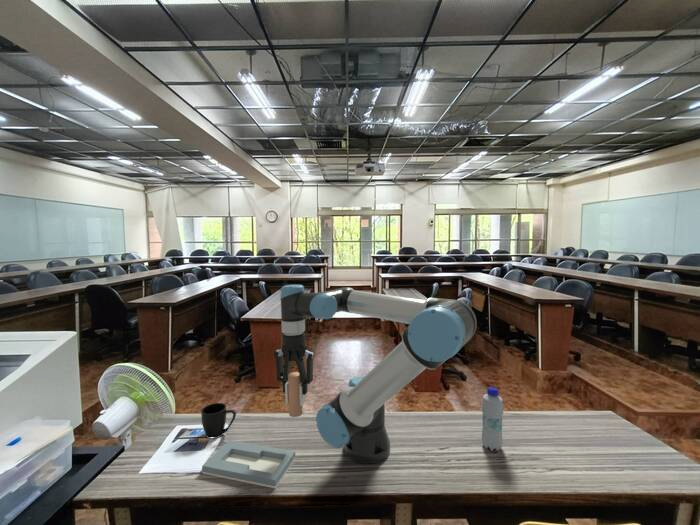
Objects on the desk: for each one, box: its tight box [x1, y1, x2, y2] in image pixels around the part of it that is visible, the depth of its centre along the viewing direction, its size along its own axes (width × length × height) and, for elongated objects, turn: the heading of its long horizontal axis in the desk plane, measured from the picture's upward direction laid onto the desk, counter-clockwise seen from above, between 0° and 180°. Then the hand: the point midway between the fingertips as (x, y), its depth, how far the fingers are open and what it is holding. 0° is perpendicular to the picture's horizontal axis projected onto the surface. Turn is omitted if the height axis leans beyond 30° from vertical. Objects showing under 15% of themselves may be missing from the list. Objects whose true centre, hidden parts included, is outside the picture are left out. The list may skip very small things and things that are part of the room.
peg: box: [288, 371, 303, 418], centre depth 105 cm, size 4×4×13 cm
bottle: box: [481, 386, 505, 452], centre depth 106 cm, size 7×7×20 cm
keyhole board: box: [201, 440, 296, 489], centre depth 98 cm, size 24×13×2 cm, turn 75°
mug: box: [200, 402, 237, 438], centre depth 115 cm, size 8×12×10 cm
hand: (295, 402), depth 106 cm, fingers closed on peg, 4 cm apart
